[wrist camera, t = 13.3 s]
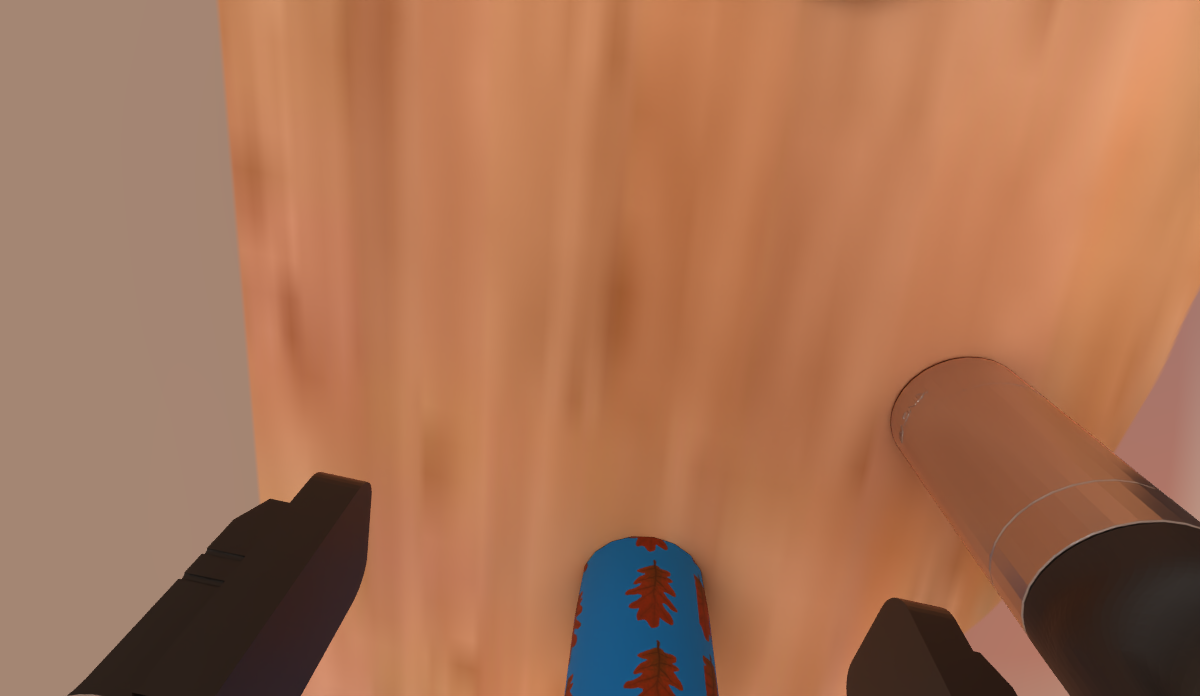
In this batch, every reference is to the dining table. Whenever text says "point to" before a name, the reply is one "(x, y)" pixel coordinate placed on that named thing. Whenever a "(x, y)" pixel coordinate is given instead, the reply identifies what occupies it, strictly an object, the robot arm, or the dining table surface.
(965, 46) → the dining table surface
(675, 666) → the blue box
